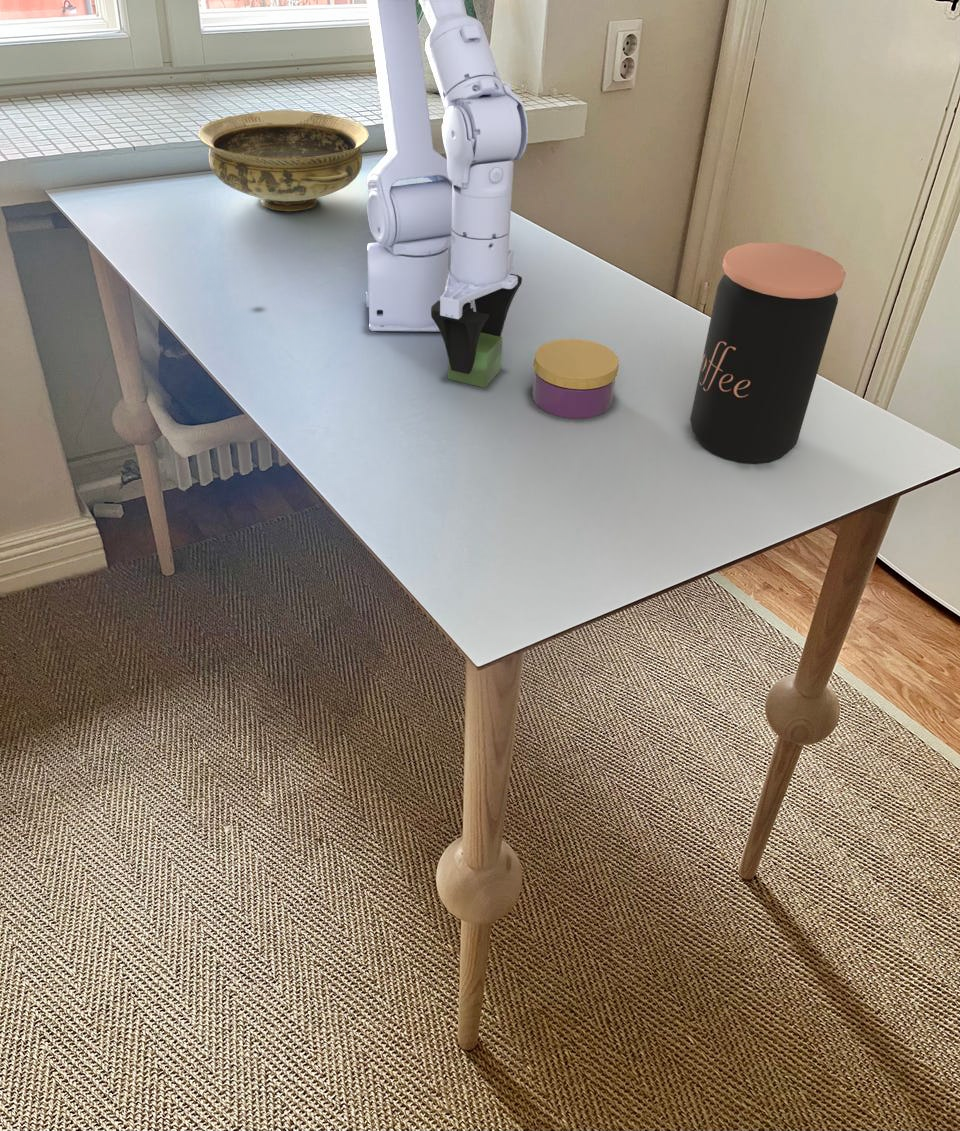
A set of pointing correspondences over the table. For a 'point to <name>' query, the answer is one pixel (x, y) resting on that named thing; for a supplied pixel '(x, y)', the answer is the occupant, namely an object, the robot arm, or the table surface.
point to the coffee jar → (764, 350)
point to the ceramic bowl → (285, 155)
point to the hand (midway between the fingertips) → (475, 355)
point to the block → (482, 362)
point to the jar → (572, 399)
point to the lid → (576, 364)
